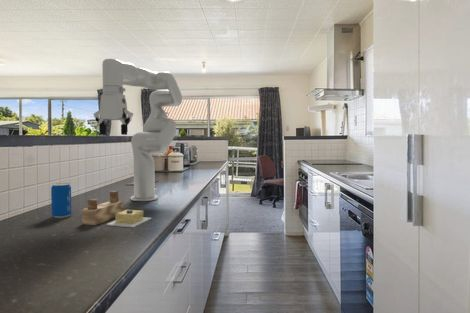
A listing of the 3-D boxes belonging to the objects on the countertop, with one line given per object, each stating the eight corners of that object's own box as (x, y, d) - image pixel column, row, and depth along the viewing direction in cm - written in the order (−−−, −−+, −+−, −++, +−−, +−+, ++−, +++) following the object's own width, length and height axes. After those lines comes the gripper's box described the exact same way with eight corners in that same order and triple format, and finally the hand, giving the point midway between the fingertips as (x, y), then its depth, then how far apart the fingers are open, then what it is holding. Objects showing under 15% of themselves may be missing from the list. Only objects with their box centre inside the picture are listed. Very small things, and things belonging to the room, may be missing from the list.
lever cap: (127, 217, 120) (127, 207, 120) (143, 219, 118) (143, 208, 118) (115, 222, 113) (115, 211, 113) (132, 223, 112) (132, 213, 111)
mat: (126, 217, 123) (126, 215, 123) (151, 218, 120) (151, 217, 120) (106, 225, 111) (106, 224, 111) (133, 227, 109) (133, 226, 109)
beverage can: (63, 219, 119) (62, 185, 118) (47, 218, 120) (46, 184, 119) (75, 215, 125) (74, 183, 125) (60, 214, 126) (59, 182, 126)
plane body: (111, 213, 128) (111, 190, 127) (122, 214, 127) (122, 191, 126) (82, 224, 112) (82, 197, 112) (95, 225, 111) (94, 198, 111)
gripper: (137, 92, 134) (137, 134, 135) (100, 93, 139) (100, 134, 139) (127, 89, 127) (127, 134, 128) (87, 90, 131) (88, 134, 132)
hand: (113, 134), depth 134 cm, fingers open, 9 cm apart
